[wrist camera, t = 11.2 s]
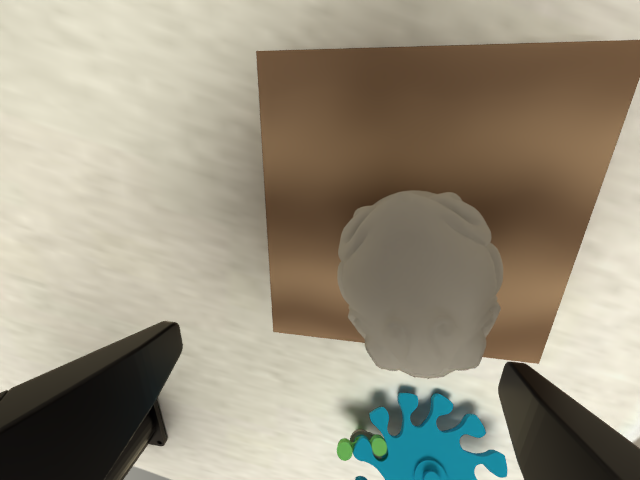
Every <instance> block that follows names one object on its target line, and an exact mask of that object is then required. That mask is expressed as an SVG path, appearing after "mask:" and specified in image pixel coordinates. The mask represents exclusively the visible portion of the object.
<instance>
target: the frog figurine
mask: <svg viewBox="0 0 640 480" xmlns="http://www.w3.org/2000/svg"><path fill="white" fill-rule="evenodd" d="M490 242H491V231H490V229H489V227H488V226H487V224H486V222H485V220H484V218H483V217H482V215H481V214H480V213H479V212H478V211H477V210H476V209H475V208H474V207H472V206H470V205H469V204H467V203H465V202H463V201H462V200H461V198H460V197H459V196H458V195H457V194H455V193H452V192H446V193H441V194H435V193H431V192H427V191H416V190H410V191H402V192H398V193H394V194H391V195H389V196H387V197H384V198H382V199H381V200H379V201H378V202H376V203H375V204H374V205H372V206H364V207H360V208H358V209H357V210H356V211H355V213H354V215H353V218H352V219H351V220H350V221H349V222H348V224H347V225H346V226H345V227H344V229H343V231H342V234H341V239H340V244H339V249H338V255H339V258H340V260H341V262H340V264H339V266H338V272H337V279H338V285H339V289H340V292H341V294H342V296H343V298H344V299H345V301H346V302H347V303H348V304H349V314H348V318H349V320H350V321H351V322H352V324H353V325H354V326H355V328H356V329H357V331H358V332H359V333H360V334H361V335H362V336H363V338H364V339H365V347H366V350H367V352H368V353H369V355H370V357H371V358H372V360H373V361H374V363H375V364H376V366H378V367H379V368H381V369H387V370H390V371H397V370H400V371H403V372H405V373H407V374H409V375H411V376H413V377H420V378H428V379H429V378H438V377H443V376H445V375H447V374H449V373H450V372H452V371H455V370H468V369H472V368H476V367H477V366H478V365H479V364H480V361H481V359H482V356H483V354H484V351H485V348H486V336H487V335H488V334H489V332H490V330H491V329H492V327H493V325H494V323H495V321H496V319H497V317H498V315H499V312H500V310H501V307H500V305H499V303H498V302H497V299H498V298H497V296H496V294H497V293H498V291H499V289H500V287H501V285H502V281H503V264H502V260H501V256H500V253H499V251H498V249H497V248H496V247H495V246H494V245H493V244H492V243H490Z"/></svg>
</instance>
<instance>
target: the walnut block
mask: <svg viewBox="0 0 640 480" xmlns="http://www.w3.org/2000/svg"><path fill="white" fill-rule="evenodd" d="M256 54H257V71H258V87H259V103H260V120H261V136H262V153H263V169H264V186H265V202H266V219H267V235H268V251H269V268H270V284H271V301H272V317H273V332H279V333H287V334H295V335H304V336H312V337H320V338H329V339H337V340H346V341H354V342H362V343H365V339H364V338H363V336H362V335H361V334H360V333H359V332H358V331H357V329H356V328H355V326H354V325H353V324H352V322H351V321H350V320H349V318H348V314H349V304H348V303H347V302H346V301H345V299H344V298H343V296H342V294H341V292H340V289H339V285H338V279H337V272H338V266H339V264H340V262H341V260H340V258H339V255H338V249H339V244H340V239H341V234H342V231H343V229H344V227H345V226H346V225H347V224H348V222H349V221H350V220H351V219H352V218H353V215H354V213H355V211H356V210H357V209H358V208H360V207H364V206H372V205H374V204H375V203H376V202H378V201H379V200H381V199H382V198H384V197H387V196H389V195H391V194H394V193H398V192H402V191H410V190H416V191H427V192H431V193H435V194H441V193H446V192H452V193H455V194H457V195H458V196H459V197H460V198H461V200H462V201H463V202H465V203H467V204H469V205H470V206H472V207H474V208H475V209H476V210H477V211H478V212H479V213H480V214H481V215H482V217H483V218H484V220H485V222H486V224H487V226H488V227H489V229H490V231H491V242H490V243H492V244H493V245H494V246H495V247H496V248H497V249H498V251H499V253H500V256H501V260H502V264H503V281H502V285H501V287H500V289H499V291H498V293H497V294H496V296H497V298H498V299H497V302H498V303H499V305H500V307H501V310H500V312H499V315H498V317H497V319H496V321H495V323H494V325H493V327H492V329H491V330H490V332H489V334H488V335H487V336H486V348H485V351H484V354H483V356H482V357H487V358H496V359H504V360H512V361H521V362H529V363H537V364H539V362H540V359H541V356H542V353H543V350H544V348H545V345H546V342H547V339H548V336H549V333H550V331H551V328H552V325H553V322H554V319H555V316H556V313H557V311H558V308H559V305H560V302H561V299H562V296H563V294H564V291H565V288H566V285H567V282H568V279H569V277H570V274H571V271H572V268H573V265H574V262H575V260H576V257H577V254H578V251H579V248H580V245H581V243H582V240H583V237H584V234H585V231H586V228H587V226H588V223H589V220H590V217H591V214H592V211H593V209H594V206H595V203H596V200H597V197H598V194H599V192H600V189H601V186H602V183H603V180H604V177H605V174H606V172H607V169H608V166H609V163H610V160H611V157H612V155H613V152H614V149H615V146H616V143H617V140H618V138H619V135H620V132H621V129H622V126H623V123H624V121H625V118H626V115H627V112H628V109H629V106H630V104H631V101H632V98H633V95H634V92H635V89H636V87H637V84H638V81H639V78H640V40H623V41H588V42H554V43H520V44H486V45H451V46H417V47H383V48H348V49H314V50H280V51H256Z"/></svg>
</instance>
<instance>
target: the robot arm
mask: <svg viewBox="0 0 640 480" xmlns="http://www.w3.org/2000/svg"><path fill="white" fill-rule="evenodd" d="M182 348H183V343H182V338H181V333H180V327H179V325H178V323H176V322H169V321H163V322H160V323H158V324H156V325H153V326H151V327H149V328H147V329H144V330H142V331H140V332H138V333H135V334H133V335H131V336H128V337H126V338H124V339H122V340H119V341H117V342H115V343H113V344H110V345H108V346H106V347H104V348H101V349H99V350H97V351H94V352H92V353H90V354H88V355H85V356H83V357H81V358H79V359H76V360H74V361H72V362H70V363H67V364H65V365H63V366H60V367H58V368H56V369H54V370H51V371H49V372H47V373H45V374H42V375H40V376H38V377H36V378H33V379H31V380H29V381H26V382H24V383H22V384H20V385H17V386H15V387H13V388H11V389H10V390H9V391H8V390H6V391H4V392H1V393H0V480H123V479H124V478H125V476H126V475H127V473H128V472H129V471H130V469H131V468H132V466H133V465H134V464H135V462H136V461H137V459H138V458H139V456H140V455H141V454H142V452H143V451H144V449H145V448H146V446H147V445H148V444H152V445H157V446H164V444H165V443H166V441H167V438H166V434H165V430H164V427H163V423H162V419H161V415H160V412H159V408H158V404H157V400H156V399H157V397H158V396H159V394H160V392H161V390H162V388H163V386H164V384H165V383H166V381H167V379H168V377H169V375H170V373H171V371H172V369H173V368H174V366H175V364H176V362H177V360H178V358H179V356H180V354H181V352H182ZM498 393H499V398H500V401H501V405H502V409H503V412H504V416H505V419H506V423H507V426H508V430H509V434H510V437H511V441H512V444H513V448H514V451H515V455H516V458H517V461H518V464H519V467H520V469H521V472H522V475H523V477H524V480H640V448H639V447H637V446H636V445H634V444H633V443H632V442H630V441H629V440H628V439H626V438H625V437H624V436H622V435H621V434H620V433H618V432H617V431H616V430H614V429H613V428H612V427H610V426H609V425H608V424H606V423H605V422H604V421H602V420H601V419H599V418H598V417H597V416H595V415H594V414H593V413H591V412H590V411H589V410H587V409H586V408H585V407H583V406H582V405H581V404H579V403H578V402H577V401H575V400H574V399H573V398H571V397H570V396H569V395H567V394H566V393H565V392H563V391H562V390H560V389H559V388H558V387H556V386H555V385H554V384H552V383H551V382H550V381H548V380H547V379H546V378H544V377H543V376H542V375H540V374H539V373H538V372H536V371H535V370H534V369H532V368H531V367H530V366H528V365H527V364H524V363H518V362H507V363H506V364H505V366H504V369H503V372H502V376H501V379H500V382H499V386H498Z"/></svg>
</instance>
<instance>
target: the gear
mask: <svg viewBox="0 0 640 480" xmlns="http://www.w3.org/2000/svg"><path fill="white" fill-rule="evenodd" d="M398 403H399V405H400V407H401V410H402V418H403V420H402V427H401V431H400V433H399V434H398V435H396V436H392V435H390V434H389V433H388V430H387V426H388V422H389V414H388V412H387V410H386V409H385V408H384V407H378V408H376V409H374V410H373V411H372V412H370V413H369V416H370V419H371V422H372V423H373V424H374V425H375V426H376V427H377V428H378V429H379V430H380V431H381V433H382V434H383V436H384V438H383V437H382V436H381V435H378V434H376V435H375V434H372V433H370V432H367V431H365V430H362V429H359V430H356V431H354V432H353V433H352V435H351V438H350V441H349V440H348V439H346V438H343V439H341V440H340V441H339V443H338V447H337V454H338V457H339V458H340V459H341V460H344V461H346V460H349V459H350V458H351V456H352V452H353V454H354V456H355V458H356V459H358V460H360V461H365V462H368V463H370V464H371V465H373V466H374V467H376V468H377V469H378V471H379V472H380V473H381V474H382V476H383V477H384V478H385V480H477V479H476V477H475V474H474V469H475V467H476V465H478V464H483V465H484V466H485V467H486V468H487V469H488V470H489V471H490V472H492V473H493V474H495V475H496V476H498V477H502V478H503V477H506V476H507V464H506V459H505V456H504V455H503V454H501V453H499V452H498V451H495V450H488V451H486V452H484V453H471V452H468V451H465V450H463V449H462V448H461V446H460V442H459V441H460V438H461V436H462V435H464V434H468V435H471V436H473V437H476V438H480V437H483V436H484V435H485V434H486V431H485V428H484V426H483V424H482V423H481V421H480V420H479V418H478V417H477V416H476V415H474V414H466V415H465V416H464V417H463V419H462V421H461V422H460V423H459V424H458V425H457V426H456V427H454V428H452V429H449V430H444V431H440V430H439V429H438V428H437V425H436V420H437V418H438V417H439V416H441V415H446V414H449V413H450V412H451V411H452V409H453V404H452V402H451V401H450V400H448V399H447V398H446V397H444V396H442V395H440V394H438V393H435V394H433V395H432V397H431V407H430V412H429V414H428V416H427V418H426V419H425V420H424V421H423V423H422V424H421V425H419V426H414V425H413V424H412V423H411V420H410V416H411V413H412V412H413V411H414V410H415V409H416V408H417V406H418V397H417V396H416V395H414V394H410V393H399V394H398ZM355 480H367V479H366V478H365V477H363V476H358V477H356V479H355Z"/></svg>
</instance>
